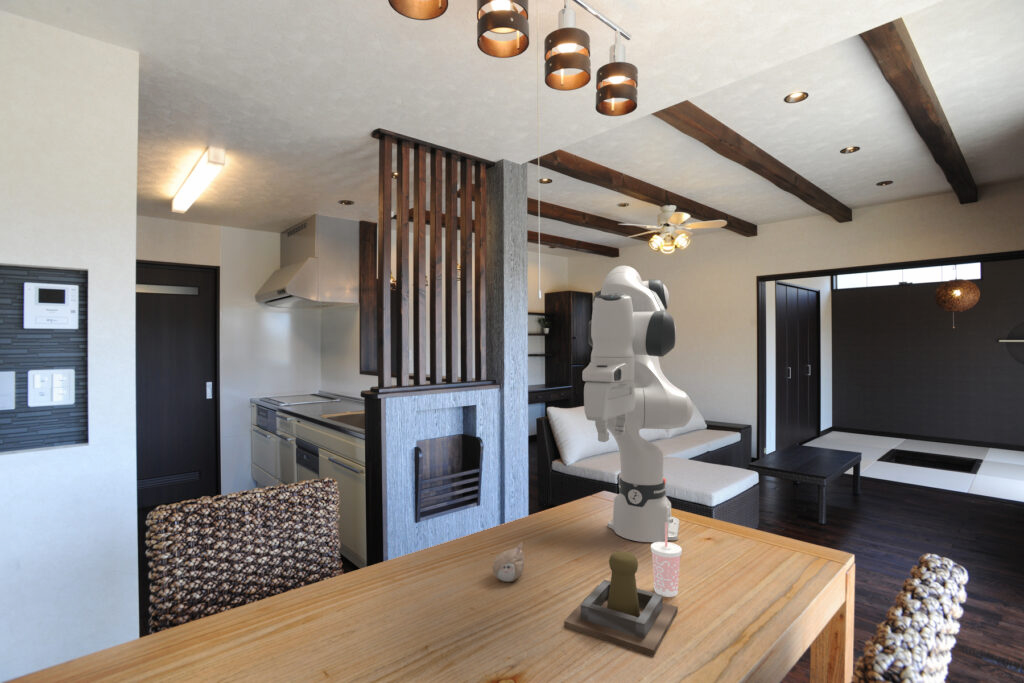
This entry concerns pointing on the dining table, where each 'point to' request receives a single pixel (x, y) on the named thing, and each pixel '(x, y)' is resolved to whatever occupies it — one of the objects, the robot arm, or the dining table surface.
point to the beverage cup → (666, 566)
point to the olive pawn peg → (623, 583)
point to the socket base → (624, 620)
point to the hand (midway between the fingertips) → (611, 437)
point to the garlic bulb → (509, 564)
